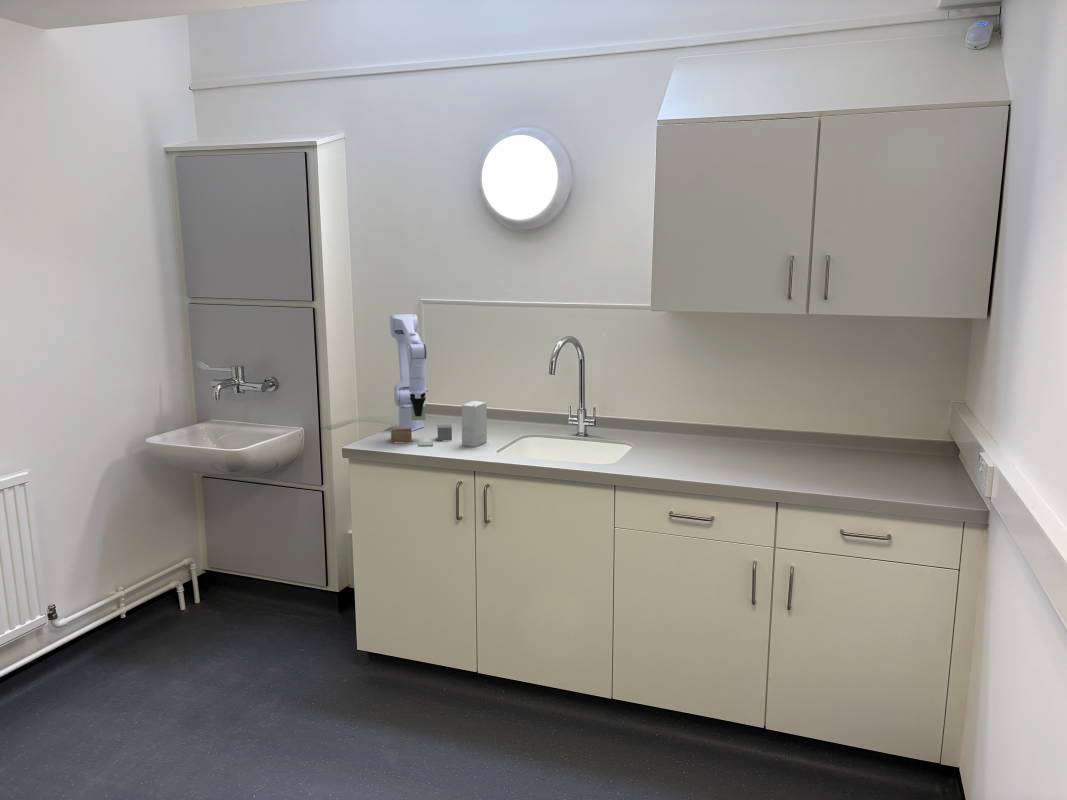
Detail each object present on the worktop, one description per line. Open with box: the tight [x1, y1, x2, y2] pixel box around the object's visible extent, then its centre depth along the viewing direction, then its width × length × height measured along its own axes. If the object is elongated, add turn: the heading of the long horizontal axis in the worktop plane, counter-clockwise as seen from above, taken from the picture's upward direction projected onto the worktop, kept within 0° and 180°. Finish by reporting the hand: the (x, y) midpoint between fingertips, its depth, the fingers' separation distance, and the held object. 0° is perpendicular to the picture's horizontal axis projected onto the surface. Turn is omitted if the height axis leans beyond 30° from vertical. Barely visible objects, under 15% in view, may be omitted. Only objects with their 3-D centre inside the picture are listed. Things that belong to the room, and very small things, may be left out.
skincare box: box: [461, 400, 488, 448], centre depth 275 cm, size 8×6×15 cm
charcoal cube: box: [436, 423, 453, 442], centre depth 283 cm, size 5×5×5 cm
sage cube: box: [411, 403, 427, 421], centre depth 280 cm, size 5×5×5 cm
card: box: [418, 440, 434, 447], centre depth 275 cm, size 5×5×1 cm
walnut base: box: [390, 428, 413, 444], centre depth 281 cm, size 7×7×4 cm
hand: (418, 414), depth 280 cm, fingers closed on sage cube, 5 cm apart
